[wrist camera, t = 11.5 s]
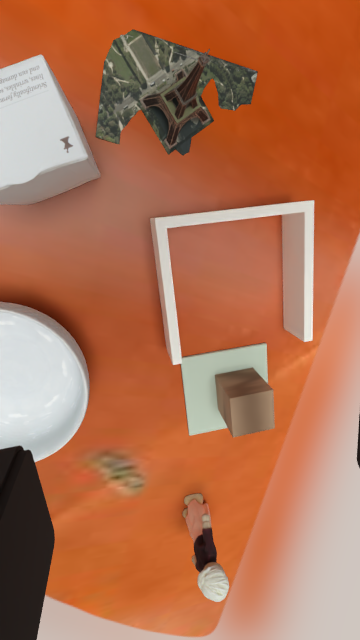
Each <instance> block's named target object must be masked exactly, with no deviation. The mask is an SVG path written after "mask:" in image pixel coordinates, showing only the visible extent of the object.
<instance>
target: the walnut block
mask: <svg viewBox="0 0 360 640" xmlns="http://www.w3.org/2000/svg"><path fill="white" fill-rule="evenodd" d="M215 383H216V393H217V404H218V410H219V412H220V414H221V416H222V418H223V420H224V421H225V423H226V425H227V427H228V429H229V431H230V433H231V435H232V436H233V437H237V436H242V435H246V434H251V433H255V432H260V431H264V430H269V429H273V428H275V424H274V398H273V389H272V388H271V387H270V386H269V385H268V384H267V382H266V381H265V380H264V379H263V378H262V377H261V376H260V375H259V374H258V373H257V372H256V370H255V369H254V368H253V367H252V368H247V369H242V370H236V371H231V372H226V373H221V374H216V375H215Z"/></svg>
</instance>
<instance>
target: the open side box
mask: <svg viewBox="0 0 360 640" xmlns="http://www.w3.org/2000/svg"><path fill="white" fill-rule="evenodd" d="M274 215H282V258H283V322H284V329H285V330H287V331H288V332H290V333H291V334H293V335H294V336H296V337H297V338H299V339H301V340H302V341H304V342H307V341H312V339H313V254H314V200H311V201H299V202H288V203H280V204H271V205H262V206H253V207H245V208H236V209H227V210H218V211H210V212H201V213H192V214H183V215H175V216H166V217H157V218H150V224H151V232H152V239H153V247H154V255H155V263H156V271H157V278H158V286H159V294H160V302H161V310H162V317H163V325H164V333H165V341H166V348H167V351H168V353H169V356H170V358H171V361H172V364H173V365H176V364H181V363H182V357H181V348H180V339H179V331H178V322H177V313H176V305H175V296H174V287H173V278H172V270H171V261H170V252H169V244H168V235H167V228H173V227H181V226H190V225H198V224H206V223H215V222H223V221H232V220H240V219H248V218H257V217H265V216H274Z"/></svg>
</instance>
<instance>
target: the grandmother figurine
mask: <svg viewBox="0 0 360 640" xmlns="http://www.w3.org/2000/svg"><path fill="white" fill-rule="evenodd" d="M184 503H185V504H186V505H187V506H188V508H186V509H184V511H183V513H182V515H183V516H184V517H185V518H186V522H187V526H188V529H189V532H190V535H191V537H192V539H193V542H194V552H195V555H193V556H192V562H193V563H194V565H195V566H196V569H197V570H198V571H199V572H200V573H199V575H198V586H199V588H200V589H201V590H202V593H203V594H204V596H205V597H206V598H208V599H211V600H213V601H215V602H220V601H222V600H223V599H224V598H225V597H226V595H227V592H228V589H229V582H228V577H227V576H226V575H225V572H224V570H223V568H222V567H221V565H220V564H218V563H216V556H217V552H216V548H215V545H214V542H213V536H212V528H211V518H210V511H209V507H208V504H207V503H205V504H203V496H202V494H199V493H197V494H192V495H188V496H186V497H185V499H184ZM202 504H203V505H202Z"/></svg>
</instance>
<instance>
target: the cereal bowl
mask: <svg viewBox="0 0 360 640" xmlns="http://www.w3.org/2000/svg"><path fill="white" fill-rule="evenodd" d="M89 388H90V386H89V373H88V369H87V364H86V360H85V358H84V356H83V353H82V351H81V349H80V347H79V346H78V344H77V343H76V341H75V339H74V338H73V337H72V336H71V335H70V333H69V332H68V331H67V330H66V329H65V328H64V327H63V326H61V325H60V324H59V323H57V322H56V320H54V319H52V318H51V317H49V316H48V315H46V314H43V313H42V312H39V311H37V310H35V309H32V308H30V307H27V306H23V305H19V304H14V303H6V302H0V449H4V448H9V447H14V446H19V445H20V446H22V447H23V449H24V450H30V451H31V452H32V455H33V459H34V462H37V461H39V460H41V459H44V458H46V457H48V456H50V455H51V454H53V453H55V452H56V451H58V450H59V449H60V448H62V447H63V446H64V445H65V444H66V443H67V442H68V441H69V440H70V439H71V438H72V437H73V435H74V434H75V433H76V431H77V430H78V428H79V427H80V425H81V423H82V421H83V418H84V416H85V413H86V409H87V405H88V400H89Z"/></svg>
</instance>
